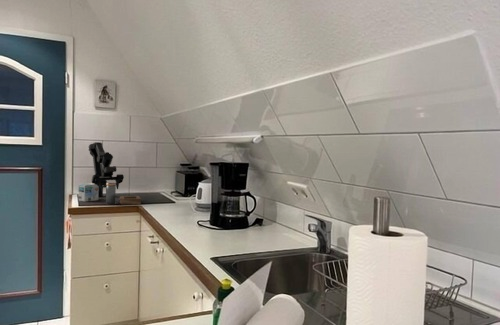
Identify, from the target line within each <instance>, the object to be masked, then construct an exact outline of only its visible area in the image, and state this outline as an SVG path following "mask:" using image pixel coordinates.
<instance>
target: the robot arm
mask: <svg viewBox="0 0 500 325" xmlns="http://www.w3.org/2000/svg"><path fill="white" fill-rule="evenodd" d="M88 148H89V149H88V151H89V155H90V156H91V157H92V161H93V162H92V163H93V170H94V174H93V175H92V177H91V183H94V184H96V185H97V186H99V194H98V198H105V196H104V188H105V189H106V183H108V181H115V183H116V190H118V189H119V186H120V184H121V183H123V181H124V178H125V177H124V176H125V175H124V174H120V173H119V174H116V176H114V173H116V172H117V166H116V165H114V166H111V165H112V162H113V159H114V156H113V154H111V153H110V152H107V151H105V149H104V147H103V143H102V142H99V141H98V142H97V141H96V142H93V143H90V144H88Z"/></svg>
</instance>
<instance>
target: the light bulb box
mask: <svg viewBox="0 0 500 325" xmlns="http://www.w3.org/2000/svg"><path fill="white" fill-rule="evenodd" d="M98 194H99V186H97V185H96V184H94V183H92V182H88V183H79V184H78V201H79V202H93V201H99V197H98Z"/></svg>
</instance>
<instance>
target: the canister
mask: <svg viewBox="0 0 500 325" xmlns="http://www.w3.org/2000/svg"><path fill="white" fill-rule="evenodd" d="M116 190H117V187H116V182H107V183H106V188H105V205H108V206H110V205H111V206H112V205H113V206H114V205H116Z"/></svg>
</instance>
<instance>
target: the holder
mask: <svg viewBox="0 0 500 325" xmlns="http://www.w3.org/2000/svg"><path fill="white" fill-rule="evenodd" d="M119 202H120V203H119V204H120V205H141V204H142V198H141V197H140V195H124V196H123V195H120V196H119Z"/></svg>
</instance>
